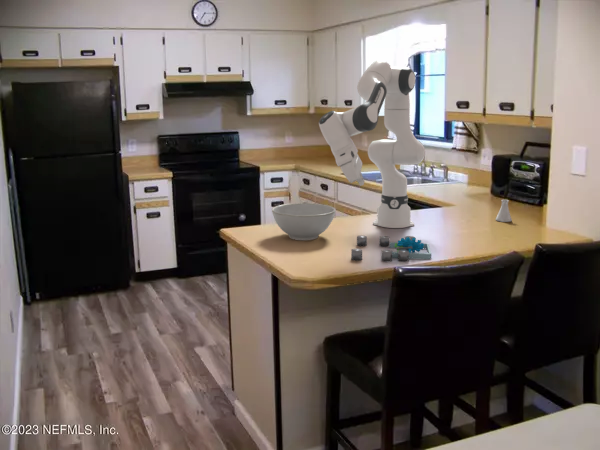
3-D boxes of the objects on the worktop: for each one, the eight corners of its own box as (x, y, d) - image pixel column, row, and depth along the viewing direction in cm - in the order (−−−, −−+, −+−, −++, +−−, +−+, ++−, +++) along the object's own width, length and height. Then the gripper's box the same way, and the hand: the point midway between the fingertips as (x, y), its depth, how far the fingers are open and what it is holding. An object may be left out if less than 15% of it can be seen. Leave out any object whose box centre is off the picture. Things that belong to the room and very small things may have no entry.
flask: (505, 218, 298) (506, 198, 295) (514, 221, 291) (516, 201, 289) (492, 219, 295) (493, 199, 293) (501, 222, 289) (503, 201, 287)
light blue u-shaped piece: (389, 247, 245) (389, 242, 245) (428, 248, 243) (428, 243, 243) (389, 257, 230) (389, 252, 230) (431, 259, 228) (431, 253, 228)
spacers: (354, 242, 252) (354, 234, 251) (414, 244, 249) (414, 236, 248) (351, 260, 226) (351, 251, 226) (417, 262, 223) (417, 253, 222)
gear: (426, 249, 236) (420, 235, 228) (425, 262, 233) (419, 248, 225) (398, 250, 240) (391, 236, 233) (396, 263, 237) (389, 249, 230)
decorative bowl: (327, 228, 277) (328, 202, 274) (341, 243, 251) (342, 214, 248) (268, 231, 272) (268, 204, 270) (276, 246, 247) (276, 216, 244)
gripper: (341, 148, 243) (357, 178, 247) (335, 164, 225) (352, 196, 228) (355, 141, 241) (371, 172, 245) (350, 156, 222) (368, 189, 226)
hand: (362, 184), depth 236 cm, fingers closed
